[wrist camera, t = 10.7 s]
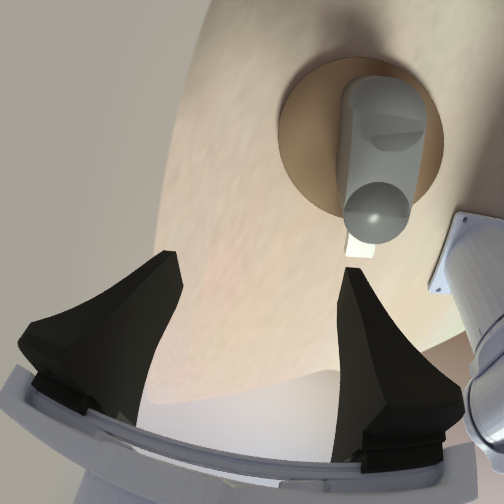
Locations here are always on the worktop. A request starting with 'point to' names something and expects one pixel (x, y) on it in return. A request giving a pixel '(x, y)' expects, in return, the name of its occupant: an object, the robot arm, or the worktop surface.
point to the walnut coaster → (328, 130)
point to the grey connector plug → (378, 159)
